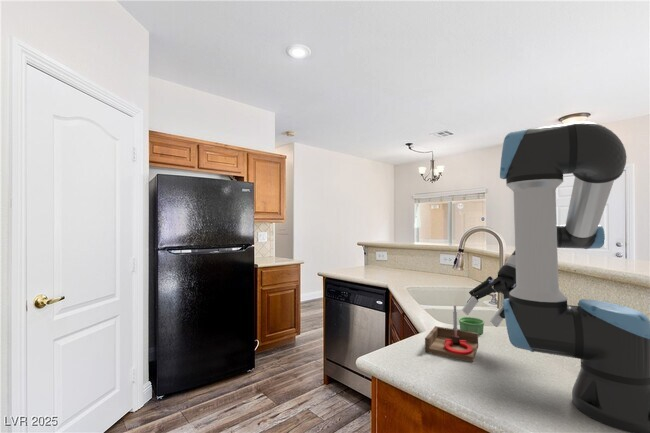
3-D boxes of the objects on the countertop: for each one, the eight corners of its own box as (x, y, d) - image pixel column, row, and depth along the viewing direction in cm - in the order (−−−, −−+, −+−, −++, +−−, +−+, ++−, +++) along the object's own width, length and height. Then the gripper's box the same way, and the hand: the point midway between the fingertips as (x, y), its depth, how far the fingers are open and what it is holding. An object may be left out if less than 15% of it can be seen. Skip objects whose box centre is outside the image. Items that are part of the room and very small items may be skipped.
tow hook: (476, 356, 94) (468, 343, 103) (475, 314, 94) (467, 305, 103) (446, 355, 96) (441, 342, 105) (446, 313, 96) (441, 304, 105)
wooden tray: (472, 362, 93) (472, 346, 93) (425, 352, 101) (425, 338, 101) (478, 346, 105) (477, 333, 105) (435, 338, 113) (435, 326, 113)
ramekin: (459, 334, 117) (458, 322, 117) (458, 326, 126) (458, 315, 126) (485, 337, 114) (485, 325, 114) (483, 329, 122) (483, 318, 122)
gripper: (553, 285, 97) (515, 338, 93) (493, 273, 121) (461, 314, 118) (539, 268, 96) (500, 321, 92) (481, 260, 120) (448, 301, 116)
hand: (478, 318), depth 105 cm, fingers open, 13 cm apart
